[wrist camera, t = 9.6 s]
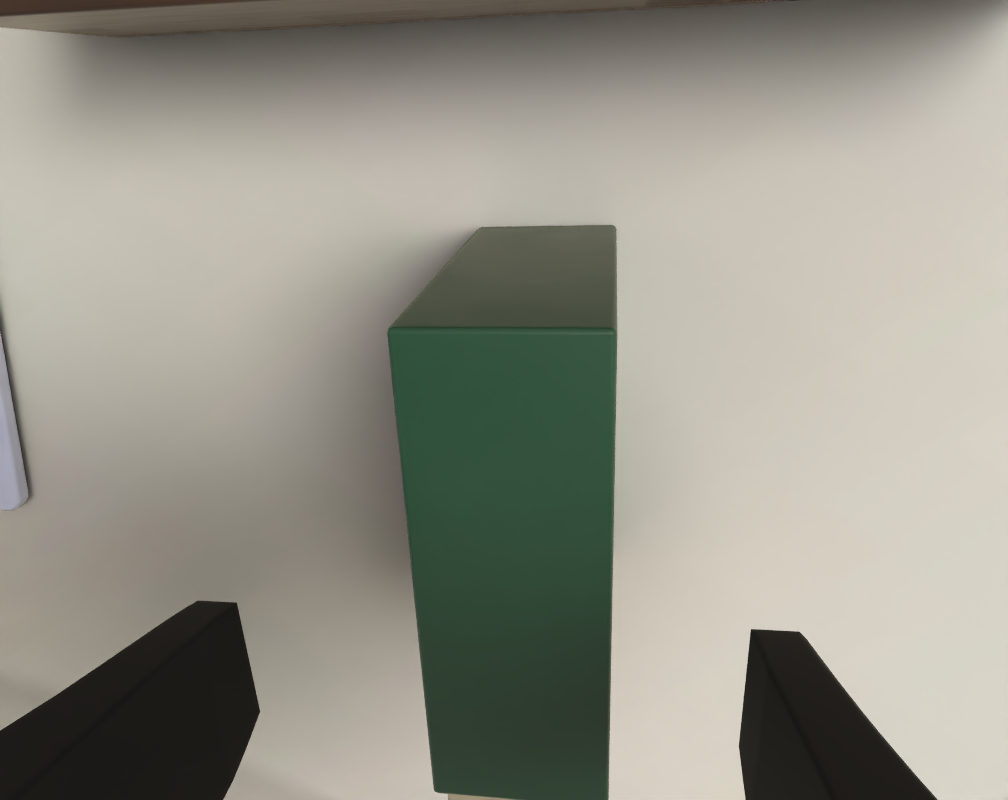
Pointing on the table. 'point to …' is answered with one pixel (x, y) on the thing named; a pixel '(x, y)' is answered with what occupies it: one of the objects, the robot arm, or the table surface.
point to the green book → (513, 508)
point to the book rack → (281, 13)
